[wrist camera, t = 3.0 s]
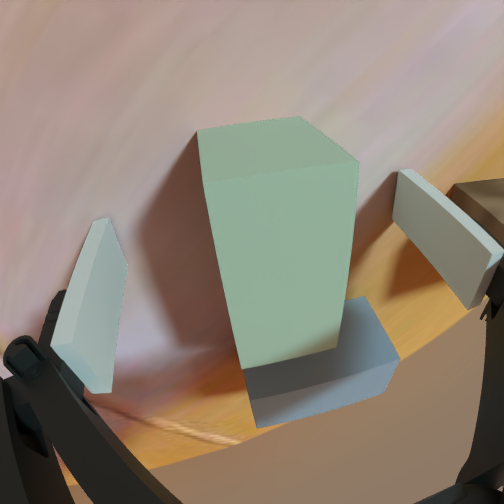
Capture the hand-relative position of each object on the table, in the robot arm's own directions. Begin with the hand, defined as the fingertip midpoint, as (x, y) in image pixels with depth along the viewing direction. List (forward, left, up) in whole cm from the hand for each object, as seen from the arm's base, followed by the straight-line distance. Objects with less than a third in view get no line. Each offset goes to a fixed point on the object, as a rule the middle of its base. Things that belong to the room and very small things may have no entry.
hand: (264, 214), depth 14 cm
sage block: (0, 0, 0) cm, 0 cm away
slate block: (+2, -9, 0) cm, 9 cm away
